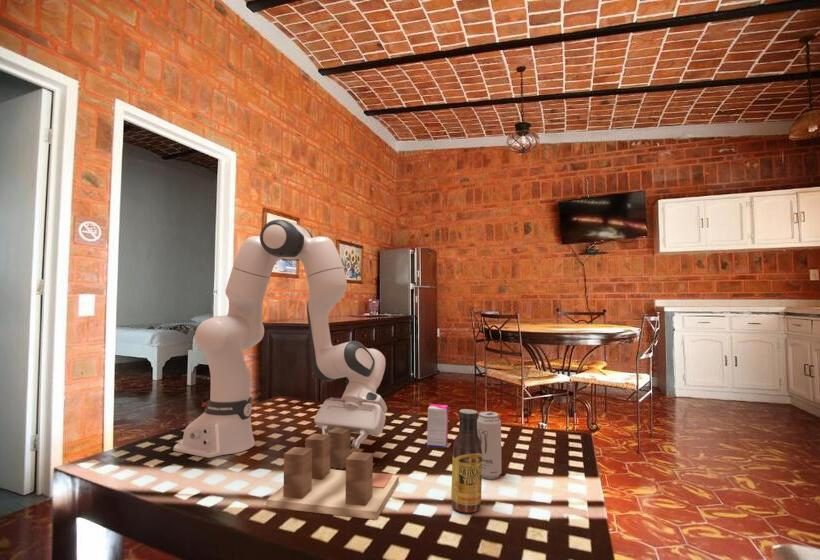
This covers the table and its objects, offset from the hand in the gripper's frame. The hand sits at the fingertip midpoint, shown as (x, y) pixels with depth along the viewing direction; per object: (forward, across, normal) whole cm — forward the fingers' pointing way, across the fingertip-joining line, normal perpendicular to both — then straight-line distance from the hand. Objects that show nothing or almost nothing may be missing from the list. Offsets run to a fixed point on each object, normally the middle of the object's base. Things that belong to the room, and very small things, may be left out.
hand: (338, 445), depth 112 cm
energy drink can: (-2, +38, +10) cm, 39 cm away
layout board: (+14, +9, -7) cm, 18 cm away
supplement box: (-14, +19, +22) cm, 32 cm away
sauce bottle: (+11, +37, -3) cm, 39 cm away
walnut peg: (+4, 0, +4) cm, 5 cm away
